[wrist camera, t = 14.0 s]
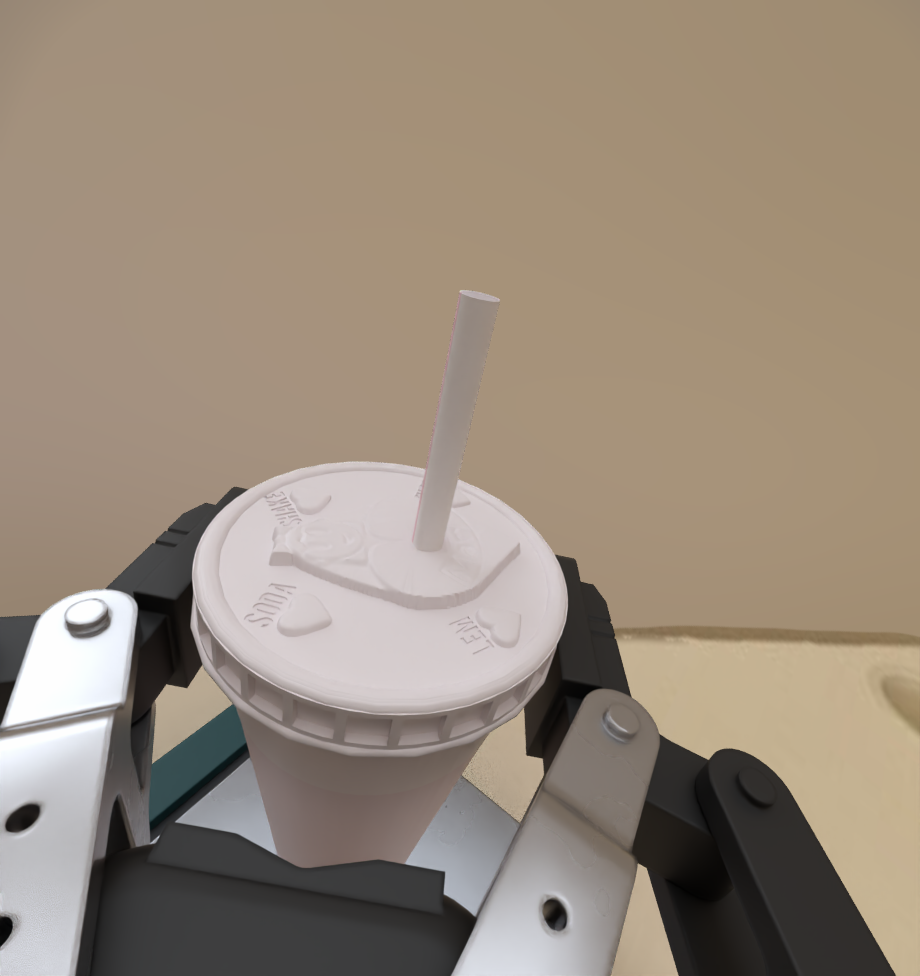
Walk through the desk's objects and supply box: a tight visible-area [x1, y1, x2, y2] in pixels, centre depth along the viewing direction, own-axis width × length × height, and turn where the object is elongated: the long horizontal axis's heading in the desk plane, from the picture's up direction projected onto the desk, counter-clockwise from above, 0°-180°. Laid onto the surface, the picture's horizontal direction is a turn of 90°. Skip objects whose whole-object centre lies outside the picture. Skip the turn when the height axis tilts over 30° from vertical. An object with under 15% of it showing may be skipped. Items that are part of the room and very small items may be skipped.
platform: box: [150, 757, 520, 915], centre depth 17 cm, size 12×13×1 cm
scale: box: [149, 704, 250, 842], centre depth 18 cm, size 16×14×3 cm
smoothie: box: [190, 290, 568, 868], centre depth 10 cm, size 6×6×14 cm
